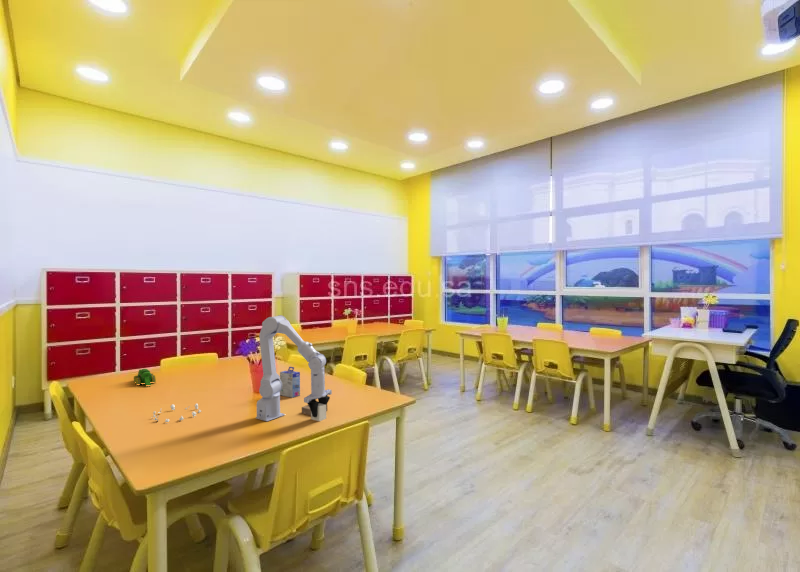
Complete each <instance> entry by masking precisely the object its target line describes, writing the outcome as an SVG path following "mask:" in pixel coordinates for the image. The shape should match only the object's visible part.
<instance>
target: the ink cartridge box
mask: <svg viewBox="0 0 800 572" xmlns="http://www.w3.org/2000/svg"><path fill="white" fill-rule="evenodd" d="M279 376H280V380H281V382H282V389H281V391H280V396H283V397H288V398H295V397H300V396H301V372H300V371H295V367H294V366H288V369H287V370H283V371H280V372H279Z"/></svg>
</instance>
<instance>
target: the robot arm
mask: <svg viewBox="0 0 800 572" xmlns="http://www.w3.org/2000/svg"><path fill="white" fill-rule="evenodd" d="M261 325H262V326H261V329H260V332H259V346H260V355H261V363H262V364H261V365H262V373H263V374H262V377H261V378H260V379H261V380H260V386H259V389H258V391H259V392H258V393H259V394H260V396H261V398H260V399H259V400H257V402H256V416H255V419H257V420H261V421H265V422H270V421H273V420H275V419H277V418H281V417H284V416H285V415H286V414H285V413H282V412H281V395H280V391H281V389H282V382H281V380H280V374H279V373H277V366H276V359H275V358H276V357H275V348H274V347H275V346H274V337H275V336H276V334H283V335H284V336H286V337H287V338H288V339H289V340H290V341H292V343H294V344H295V346H297V352H298V353H299V355H301V356H302V357H303V358H304V360H305V361H307V363H308V367H309V369H310V391H311V393H310V394H308V395H307V396H305V397H303V403H306V404H307V405H309V407H310V410H311V413H312V416H313V417H317V410H318V404H319V403H321V404H326V406H327V407H328V403H329V402H330V399H331V398H330V397H331V396H329V395H332V393H333V390H332V389H326V385H325V383H326V381H325V379H326V378H325V376H326V375H325V366H326V364H327V358H326V356H325V355H324V354H323V353H320V352H319V351H317V350H316V349H315V348H314V346H313V343H312V342H309V341H304V339H302V337H301V336H300V334H298V332H297V331H296V329H295V328H294V327H293V325H292V324H291V323H290V320H288V319H287V318H286V317H285V316H284V315H281V314H280V315H279V314H278V315H274V316H269V317H267V318H266V319H264V320H263V321H262V323H261Z"/></svg>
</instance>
